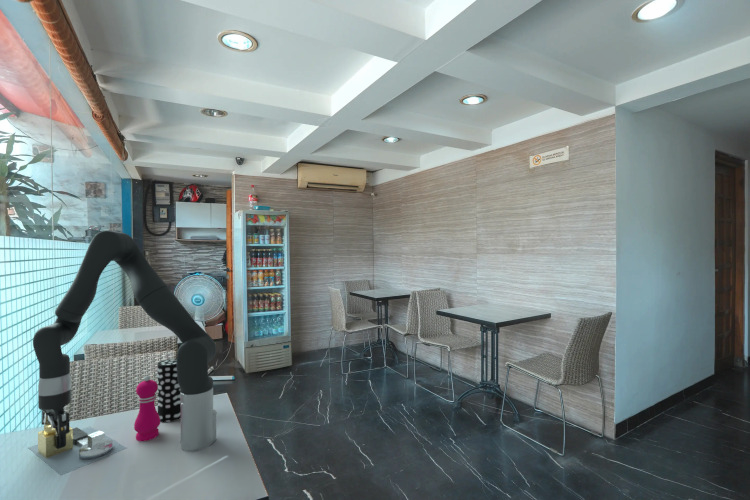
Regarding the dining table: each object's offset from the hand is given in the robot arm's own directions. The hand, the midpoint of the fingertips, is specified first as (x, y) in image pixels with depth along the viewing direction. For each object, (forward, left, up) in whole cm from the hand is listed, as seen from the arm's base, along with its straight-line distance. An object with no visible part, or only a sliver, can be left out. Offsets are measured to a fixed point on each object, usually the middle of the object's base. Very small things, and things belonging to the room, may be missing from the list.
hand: (55, 443), depth 111 cm
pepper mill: (-19, +15, -3) cm, 24 cm away
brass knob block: (0, 0, -2) cm, 2 cm away
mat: (-4, +4, -2) cm, 6 cm away
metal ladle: (-6, +4, -2) cm, 8 cm away
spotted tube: (-31, +7, -3) cm, 32 cm away
